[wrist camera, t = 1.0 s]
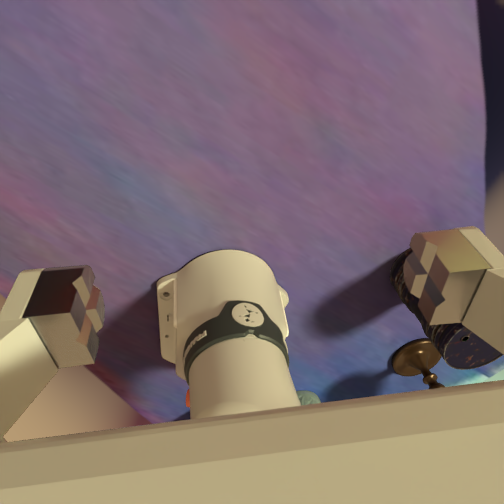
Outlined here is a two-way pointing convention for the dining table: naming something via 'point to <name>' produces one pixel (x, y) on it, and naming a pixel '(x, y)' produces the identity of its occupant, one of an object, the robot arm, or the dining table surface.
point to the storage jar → (445, 329)
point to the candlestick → (418, 361)
